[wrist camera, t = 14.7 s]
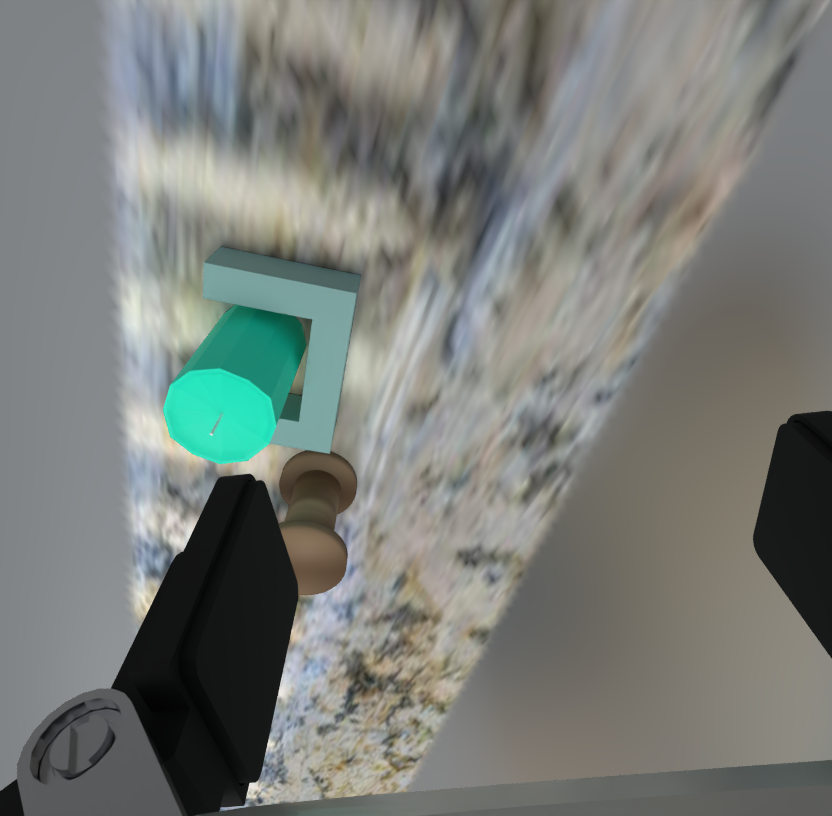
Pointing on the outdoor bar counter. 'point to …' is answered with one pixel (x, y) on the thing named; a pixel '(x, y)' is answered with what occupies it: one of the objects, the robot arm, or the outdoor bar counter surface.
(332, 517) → the bobbin
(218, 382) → the candle
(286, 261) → the notch board
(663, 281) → the outdoor bar counter surface
